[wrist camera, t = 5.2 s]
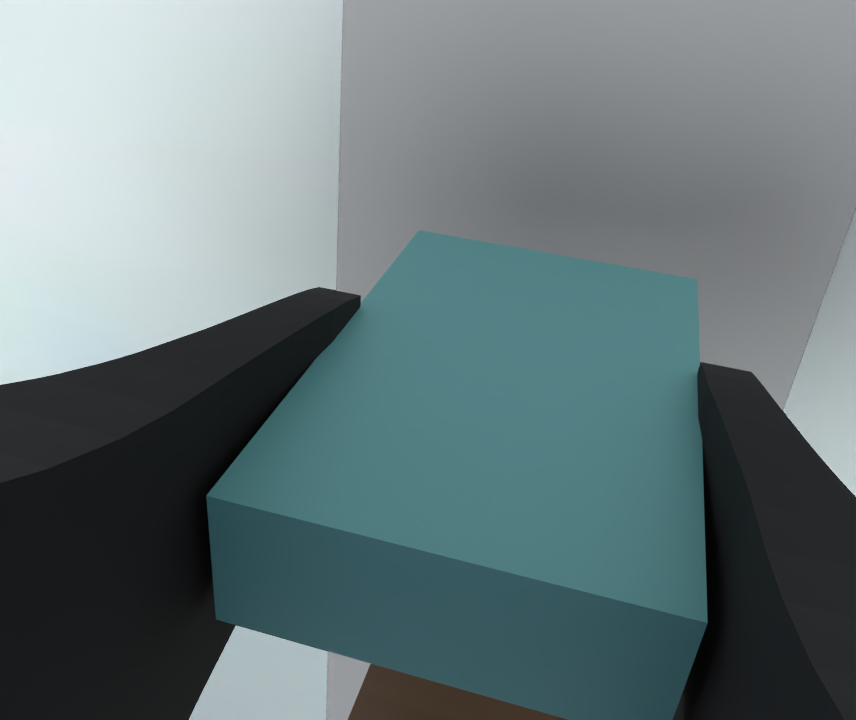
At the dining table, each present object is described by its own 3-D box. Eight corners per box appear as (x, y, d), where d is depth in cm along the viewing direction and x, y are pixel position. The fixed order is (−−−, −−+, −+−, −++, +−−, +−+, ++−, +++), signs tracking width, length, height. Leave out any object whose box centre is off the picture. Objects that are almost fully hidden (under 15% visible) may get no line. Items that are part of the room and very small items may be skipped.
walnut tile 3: (593, 596, 21) (558, 867, 15) (429, 554, 22) (335, 796, 16) (605, 550, 20) (572, 817, 14) (434, 509, 21) (336, 745, 15)
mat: (606, 890, 28) (606, 900, 27) (327, 801, 29) (324, 808, 29) (958, -93, 13) (964, -93, 13) (352, -146, 15) (346, -147, 14)
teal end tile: (673, 369, 13) (663, 746, 7) (412, 317, 14) (215, 619, 8) (697, 279, 12) (707, 623, 7) (419, 230, 13) (205, 495, 7)
